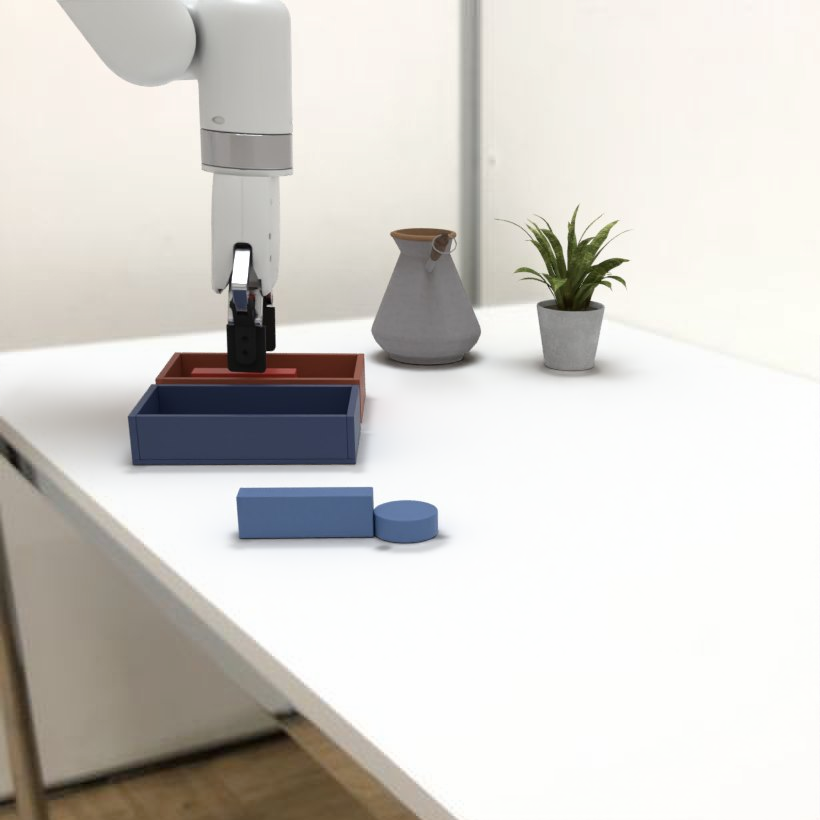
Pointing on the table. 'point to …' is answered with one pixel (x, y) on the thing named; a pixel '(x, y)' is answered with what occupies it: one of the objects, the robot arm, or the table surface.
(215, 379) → the red bin
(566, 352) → the house plant
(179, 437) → the blue bin
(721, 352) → the table surface
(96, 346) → the table surface
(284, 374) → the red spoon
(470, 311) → the coffee pot
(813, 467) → the table surface
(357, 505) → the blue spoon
